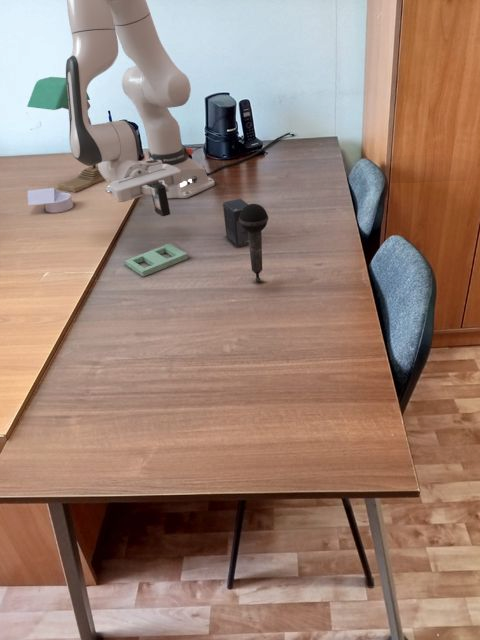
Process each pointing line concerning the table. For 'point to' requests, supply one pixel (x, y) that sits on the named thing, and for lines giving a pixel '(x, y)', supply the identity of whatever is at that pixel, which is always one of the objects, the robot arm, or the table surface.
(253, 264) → the microphone
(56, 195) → the wedge on round base
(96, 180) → the banker's lamp
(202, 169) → the robot arm
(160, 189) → the ink cartridge
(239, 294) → the table surface
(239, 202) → the box
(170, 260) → the holder
